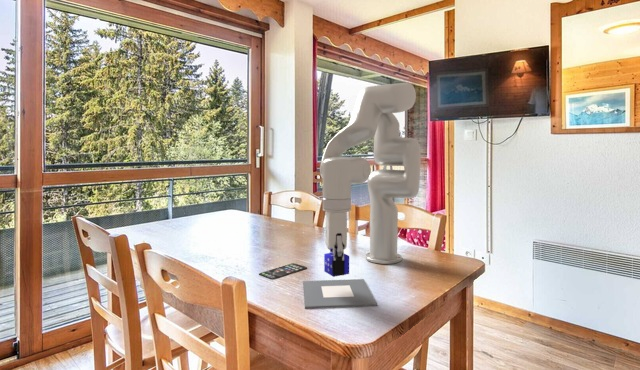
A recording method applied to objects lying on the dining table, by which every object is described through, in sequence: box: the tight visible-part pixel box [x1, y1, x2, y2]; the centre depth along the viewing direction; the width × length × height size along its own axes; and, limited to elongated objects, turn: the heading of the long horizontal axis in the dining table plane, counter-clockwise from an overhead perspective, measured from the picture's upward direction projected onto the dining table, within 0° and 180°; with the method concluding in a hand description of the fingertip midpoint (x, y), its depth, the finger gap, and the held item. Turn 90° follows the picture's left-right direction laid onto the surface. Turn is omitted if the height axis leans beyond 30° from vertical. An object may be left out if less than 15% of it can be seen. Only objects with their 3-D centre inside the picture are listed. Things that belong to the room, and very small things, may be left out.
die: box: [323, 252, 350, 278], centre depth 102 cm, size 5×5×5 cm
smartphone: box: [258, 262, 308, 281], centre depth 122 cm, size 7×1×15 cm
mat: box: [302, 278, 378, 309], centre depth 103 cm, size 18×18×1 cm
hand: (336, 270), depth 102 cm, fingers closed on die, 6 cm apart
